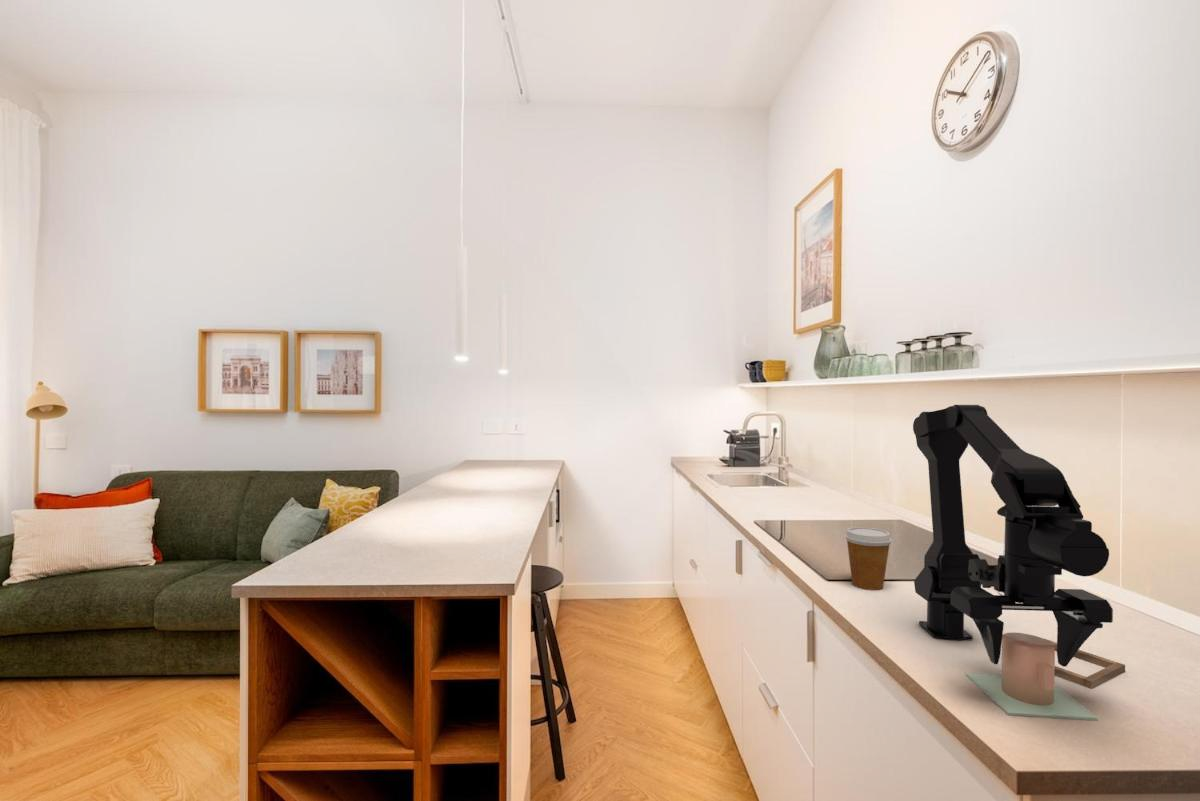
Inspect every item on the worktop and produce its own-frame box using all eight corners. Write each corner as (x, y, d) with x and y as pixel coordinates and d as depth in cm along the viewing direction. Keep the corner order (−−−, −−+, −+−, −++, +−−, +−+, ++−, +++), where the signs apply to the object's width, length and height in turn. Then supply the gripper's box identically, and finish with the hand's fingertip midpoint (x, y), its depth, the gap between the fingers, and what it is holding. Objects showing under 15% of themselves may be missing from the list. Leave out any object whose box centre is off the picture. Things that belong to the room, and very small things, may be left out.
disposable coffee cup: (877, 578, 135) (878, 526, 135) (900, 592, 125) (900, 536, 125) (837, 578, 135) (837, 526, 134) (856, 592, 125) (857, 537, 125)
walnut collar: (1008, 658, 94) (1008, 652, 94) (1043, 644, 100) (1043, 638, 100) (1091, 688, 85) (1091, 681, 85) (1125, 671, 90) (1125, 664, 90)
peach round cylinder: (992, 682, 86) (992, 632, 86) (1035, 684, 85) (1035, 633, 85) (1025, 710, 78) (1026, 654, 78) (1072, 711, 78) (1073, 655, 78)
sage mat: (965, 675, 89) (965, 673, 89) (1043, 679, 87) (1043, 677, 87) (1008, 715, 78) (1008, 712, 78) (1098, 720, 76) (1098, 718, 76)
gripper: (1057, 540, 90) (1056, 641, 90) (931, 538, 91) (930, 638, 91) (1117, 561, 79) (1115, 677, 79) (973, 558, 80) (971, 672, 80)
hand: (1027, 664), depth 82 cm, fingers open, 9 cm apart
